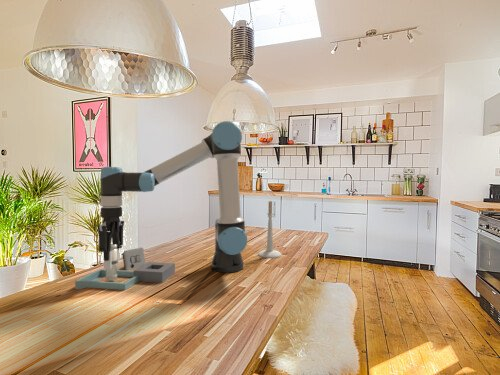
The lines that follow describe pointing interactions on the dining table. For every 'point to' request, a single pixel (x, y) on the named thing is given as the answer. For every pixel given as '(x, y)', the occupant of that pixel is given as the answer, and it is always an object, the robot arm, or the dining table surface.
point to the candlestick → (269, 239)
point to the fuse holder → (155, 272)
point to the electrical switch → (133, 258)
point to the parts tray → (93, 282)
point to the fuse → (112, 272)
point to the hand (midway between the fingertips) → (111, 266)
